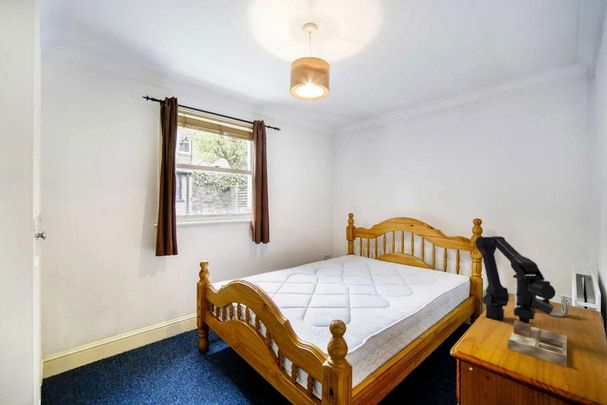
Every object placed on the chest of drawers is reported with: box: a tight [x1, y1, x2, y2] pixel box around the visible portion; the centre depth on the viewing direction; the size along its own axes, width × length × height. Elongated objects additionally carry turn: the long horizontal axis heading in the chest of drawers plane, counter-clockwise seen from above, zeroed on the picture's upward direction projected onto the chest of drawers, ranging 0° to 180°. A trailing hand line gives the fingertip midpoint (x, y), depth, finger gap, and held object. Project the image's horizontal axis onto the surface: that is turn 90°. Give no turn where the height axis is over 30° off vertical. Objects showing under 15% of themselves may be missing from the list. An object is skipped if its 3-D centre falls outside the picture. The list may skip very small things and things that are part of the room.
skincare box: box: [514, 284, 520, 309], centre depth 141 cm, size 6×4×12 cm
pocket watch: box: [550, 295, 569, 318], centre depth 133 cm, size 8×8×10 cm
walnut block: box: [513, 319, 532, 338], centre depth 109 cm, size 5×5×4 cm
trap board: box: [507, 326, 568, 368], centre depth 104 cm, size 16×25×4 cm, turn 135°
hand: (525, 328), depth 112 cm, fingers closed
